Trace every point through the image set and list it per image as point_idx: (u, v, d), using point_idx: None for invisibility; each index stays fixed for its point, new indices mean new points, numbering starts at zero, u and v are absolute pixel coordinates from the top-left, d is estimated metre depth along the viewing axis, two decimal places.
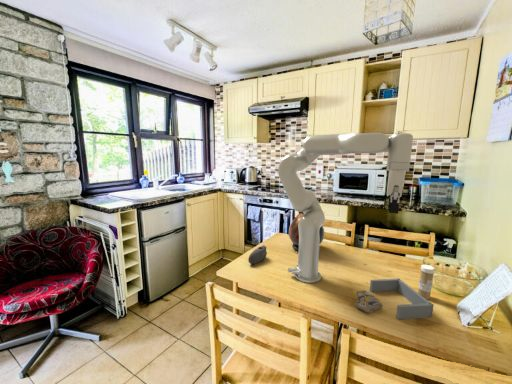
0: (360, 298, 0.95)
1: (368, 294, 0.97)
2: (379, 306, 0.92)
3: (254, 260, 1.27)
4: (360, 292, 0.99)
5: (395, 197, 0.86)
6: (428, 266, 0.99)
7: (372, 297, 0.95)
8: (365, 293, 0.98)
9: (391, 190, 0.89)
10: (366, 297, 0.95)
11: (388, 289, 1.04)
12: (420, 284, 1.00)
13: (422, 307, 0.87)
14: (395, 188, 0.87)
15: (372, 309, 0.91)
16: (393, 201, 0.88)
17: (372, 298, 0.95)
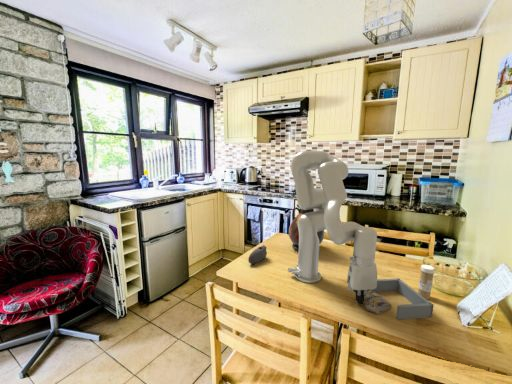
0: (369, 299, 0.94)
1: (376, 295, 0.97)
2: (388, 307, 0.91)
3: (254, 260, 1.27)
4: (367, 293, 0.98)
5: None
6: (428, 266, 0.99)
7: (380, 298, 0.95)
8: (373, 294, 0.97)
9: None
10: (375, 298, 0.94)
11: (388, 289, 1.04)
12: (420, 284, 1.00)
13: (422, 307, 0.87)
14: None
15: (381, 310, 0.90)
16: None
17: (380, 299, 0.94)
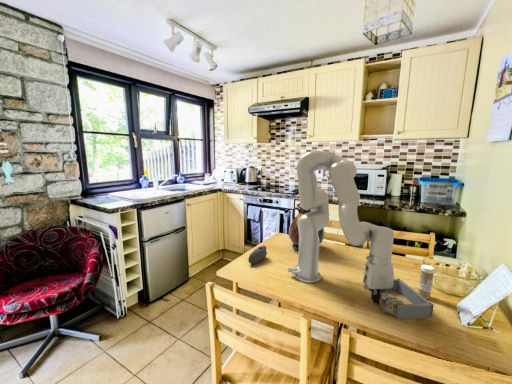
0: (385, 301, 0.93)
1: (392, 297, 0.96)
2: None
3: (254, 260, 1.27)
4: (383, 295, 0.97)
5: None
6: (428, 266, 0.99)
7: (396, 300, 0.94)
8: (388, 296, 0.96)
9: None
10: (391, 300, 0.94)
11: (388, 289, 1.04)
12: (420, 284, 1.00)
13: (422, 307, 0.87)
14: None
15: None
16: None
17: (397, 301, 0.93)
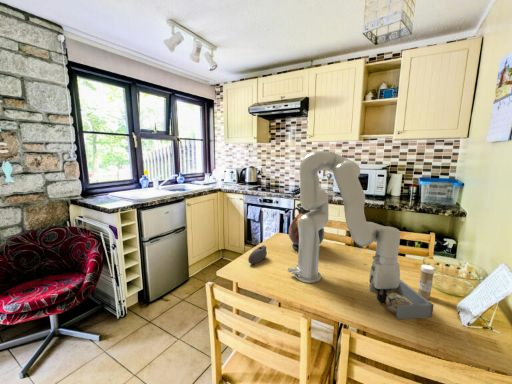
0: (391, 301, 0.93)
1: (399, 297, 0.96)
2: None
3: (254, 260, 1.27)
4: (391, 295, 0.97)
5: None
6: (428, 266, 0.99)
7: (404, 300, 0.94)
8: (396, 296, 0.96)
9: None
10: (398, 300, 0.93)
11: None
12: (420, 284, 1.00)
13: (422, 307, 0.87)
14: None
15: None
16: None
17: (404, 301, 0.93)
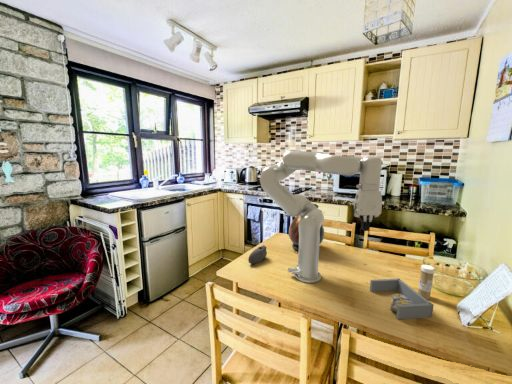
0: (395, 301, 0.93)
1: (404, 297, 0.95)
2: None
3: (254, 260, 1.27)
4: (395, 295, 0.97)
5: None
6: (428, 266, 0.99)
7: (408, 301, 0.93)
8: (401, 296, 0.96)
9: None
10: (402, 300, 0.93)
11: (388, 289, 1.04)
12: (420, 284, 1.00)
13: (422, 307, 0.87)
14: None
15: None
16: None
17: (408, 302, 0.93)
